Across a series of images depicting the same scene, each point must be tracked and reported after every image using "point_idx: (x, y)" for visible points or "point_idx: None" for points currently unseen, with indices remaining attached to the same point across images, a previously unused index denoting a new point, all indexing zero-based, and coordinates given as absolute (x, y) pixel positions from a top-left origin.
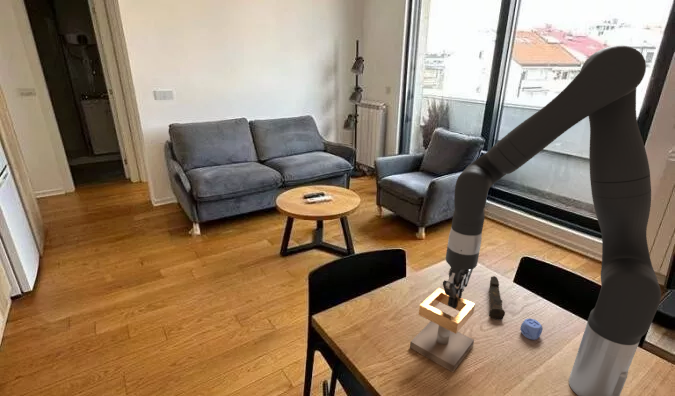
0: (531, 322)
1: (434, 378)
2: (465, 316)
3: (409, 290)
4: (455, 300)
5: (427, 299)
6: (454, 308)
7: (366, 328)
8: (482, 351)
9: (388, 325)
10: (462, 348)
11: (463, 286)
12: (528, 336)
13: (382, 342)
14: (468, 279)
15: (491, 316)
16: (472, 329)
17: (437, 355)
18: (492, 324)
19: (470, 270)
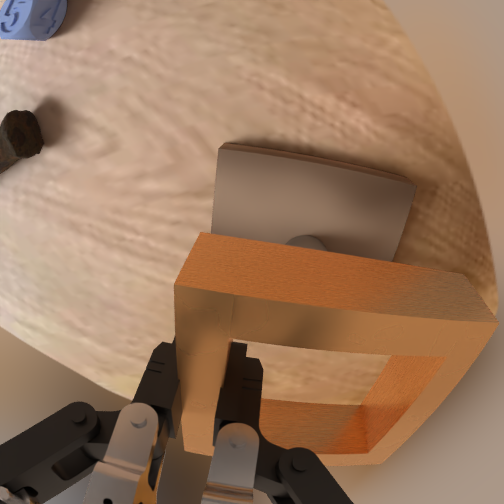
0: (13, 16)
1: (447, 222)
2: (384, 301)
3: (120, 372)
4: (241, 397)
5: (324, 463)
6: (246, 344)
7: (332, 403)
8: (233, 102)
9: (294, 380)
10: (305, 177)
11: (133, 454)
12: (61, 8)
13: (366, 368)
14: (40, 440)
15: (39, 144)
16: (134, 173)
17: (391, 249)
18: (66, 125)
19: (1, 499)
